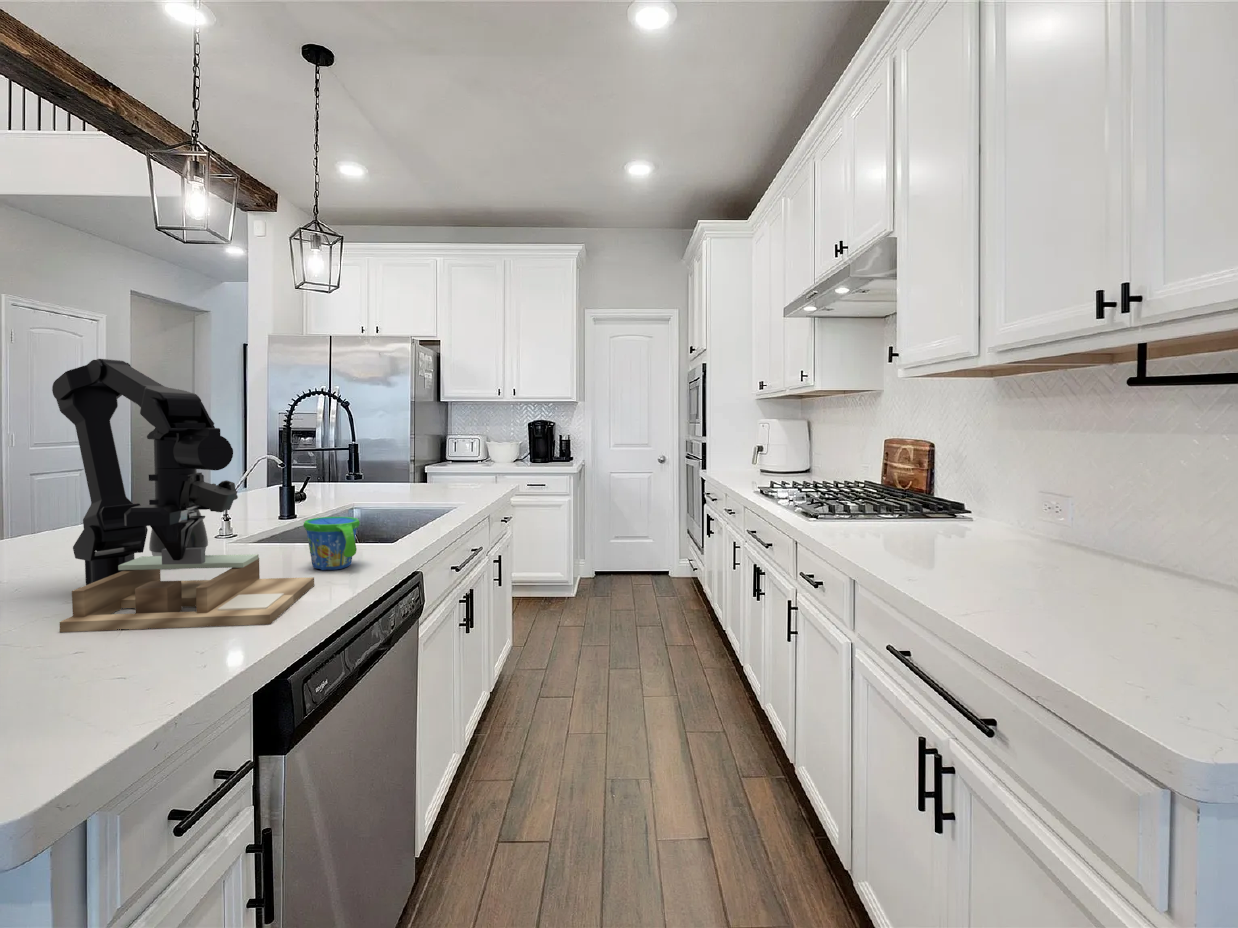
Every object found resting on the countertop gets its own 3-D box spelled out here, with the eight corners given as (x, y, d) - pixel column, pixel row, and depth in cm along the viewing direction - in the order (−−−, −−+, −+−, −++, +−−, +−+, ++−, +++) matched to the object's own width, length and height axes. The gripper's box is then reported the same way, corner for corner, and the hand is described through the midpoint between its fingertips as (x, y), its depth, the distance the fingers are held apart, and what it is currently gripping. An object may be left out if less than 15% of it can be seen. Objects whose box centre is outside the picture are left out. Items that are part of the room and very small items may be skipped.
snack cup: (372, 569, 130) (372, 522, 129) (320, 578, 122) (319, 527, 122) (342, 557, 141) (342, 513, 140) (293, 564, 133) (292, 517, 133)
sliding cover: (118, 570, 103) (117, 550, 102) (142, 560, 110) (141, 542, 109) (243, 567, 106) (242, 548, 106) (258, 558, 113) (258, 540, 113)
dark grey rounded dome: (144, 571, 124) (142, 497, 123) (155, 560, 134) (153, 491, 133) (204, 567, 129) (203, 495, 128) (211, 557, 138) (209, 490, 137)
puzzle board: (59, 632, 89) (58, 594, 89) (148, 589, 112) (147, 559, 111) (270, 624, 94) (269, 588, 94) (314, 585, 117) (313, 556, 117)
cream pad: (217, 610, 96) (217, 608, 96) (238, 596, 104) (238, 594, 103) (266, 609, 97) (266, 607, 97) (283, 595, 105) (283, 593, 105)
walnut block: (135, 620, 95) (135, 588, 95) (151, 611, 100) (150, 581, 99) (167, 619, 96) (166, 587, 96) (181, 610, 100) (181, 580, 100)
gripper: (202, 472, 95) (204, 572, 96) (251, 464, 113) (252, 548, 114) (120, 471, 93) (123, 573, 94) (183, 463, 111) (185, 549, 112)
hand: (177, 559), depth 103 cm, fingers closed
